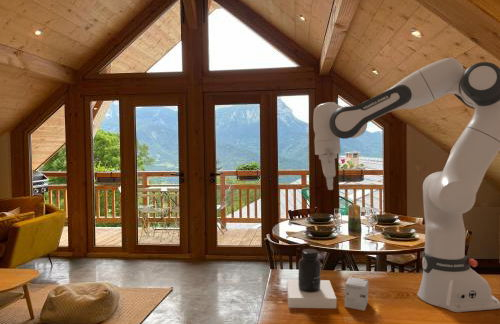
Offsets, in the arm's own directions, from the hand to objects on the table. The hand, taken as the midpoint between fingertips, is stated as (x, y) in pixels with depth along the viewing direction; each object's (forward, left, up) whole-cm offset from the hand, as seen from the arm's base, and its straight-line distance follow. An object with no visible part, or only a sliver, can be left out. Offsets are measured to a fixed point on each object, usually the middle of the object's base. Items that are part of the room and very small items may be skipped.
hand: (329, 188), depth 140 cm
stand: (+9, +19, -32) cm, 38 cm away
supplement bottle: (+9, +18, -29) cm, 35 cm away
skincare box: (-5, +23, -32) cm, 40 cm away
